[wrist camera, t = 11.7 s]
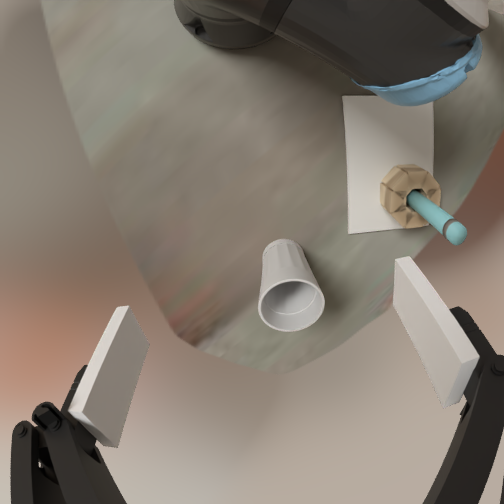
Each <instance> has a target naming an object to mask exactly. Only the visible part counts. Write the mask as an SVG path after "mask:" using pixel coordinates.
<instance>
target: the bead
mask: <svg viewBox="0 0 504 504" xmlns="http://www.w3.org/2000/svg"><path fill="white" fill-rule="evenodd" d="M381 181H382V182H383V183H380V203H381V206H382V207H383V208H384V209H385V210H386V211H387V212H388V213H389V214H390V215H391V216H392V217H393V218H394V219H395V220H396V221H397V222H398V223H399V224H400V225H401V226H402V227H403V228H405V229H406V228H415V227H423V224H424V225H426V224H427V223H428V221H427V220H426V219H424V218H423V217H422V216H421V215H420V214H419V213H417V212H416V211H415V210H414V209H413V208H412V207H410V206H409V205H408V204H407V203H406V196H407V195H408V194H409V193H410V192H411V190H412V189H415V190H417V191H418V192H419V193H421V194H422V195H424V196H425V197H426V198H428V199H429V200H431V201H432V202H433V203H435V204H436V205H437V206H439V207H440V196H441V188H440V185H439V184H438V183H437V181H436V180H435V179H434V178H433V176H432V175H431V174H430V173H429V172H428V171H426V170H424V169H422V168H421V167H419V166H417V165H415V164H404V165H396V166H394V167H393V168H392V169H391V170H390V171H389V172H388V174H387V175H386V176H385V177H384V178H383V179H382V180H381Z"/></svg>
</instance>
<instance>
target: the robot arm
mask: <svg viewBox="0 0 504 504" xmlns="http://www.w3.org/2000/svg"><path fill="white" fill-rule="evenodd" d="M488 2H489V0H174V6H175V11H176V14H177V16H178V18H179V20H180V22H181V23H182V25H183V26H184V27H185V28H186V29H187V30H188V31H189V32H190V33H191V34H192V35H193V36H194V37H196V38H197V39H199V40H200V41H202V42H204V43H206V44H209V45H212V46H215V47H219V48H225V49H243V48H249V47H253V46H256V45H259V44H262V43H264V42H266V41H268V40H270V39H272V38H273V37H275V36H276V35H278V36H280V37H282V38H284V39H286V40H288V41H290V42H292V43H294V44H295V45H297V46H299V47H301V48H303V49H305V50H306V51H308V52H310V53H312V54H313V55H315V56H317V57H319V58H320V59H322V60H324V61H325V62H327V63H329V64H330V65H332V66H333V67H335V68H337V69H338V70H340V71H341V72H343V73H344V74H346V75H348V76H349V77H350V79H351V80H352V81H353V82H354V83H356V84H357V85H358V86H361V87H363V88H365V89H368V90H370V91H372V92H373V93H375V94H376V95H378V96H379V97H381V98H382V99H384V100H386V101H387V102H389V103H392V104H395V105H399V106H419V105H423V104H427V103H430V102H433V101H435V100H437V99H439V98H441V97H443V96H445V95H447V94H448V93H450V92H452V91H453V90H454V89H456V88H457V87H458V86H459V85H461V84H462V83H463V82H464V81H465V80H466V79H467V75H466V73H467V72H468V71H471V70H474V69H475V68H476V66H477V64H478V62H479V60H480V57H481V53H482V42H481V39H480V36H479V33H480V32H481V31H483V30H484V29H485V28H487V27H488V25H489V15H488ZM393 306H394V308H395V310H396V312H397V313H398V315H399V317H400V319H401V321H402V323H403V325H404V327H405V329H406V331H407V333H408V335H409V337H410V338H411V340H412V343H413V345H414V347H415V348H416V351H417V353H418V355H419V357H420V359H421V361H422V363H423V365H424V367H425V369H426V372H427V374H428V376H429V378H430V380H431V382H432V385H433V387H434V389H435V391H436V393H437V396H438V398H439V400H440V403H441V405H442V407H443V408H445V407H448V406H451V405H453V404H456V403H458V402H459V401H460V400H461V398H462V395H463V394H464V395H465V398H466V400H467V402H466V404H465V406H464V408H463V410H462V411H461V413H460V415H461V418H460V422H459V424H458V427H457V430H456V432H455V435H454V438H453V440H452V442H451V445H450V448H449V450H448V452H447V455H446V457H445V459H444V462H443V464H442V466H441V468H440V470H439V473H438V475H437V477H436V479H435V481H434V483H433V485H432V487H431V489H430V491H429V493H428V495H427V497H426V499H425V500H424V502H423V504H478V503H479V500H480V498H481V495H482V493H483V490H484V488H485V485H486V483H487V480H488V477H489V474H490V472H491V469H492V466H493V463H494V460H495V457H496V453H497V450H498V447H499V443H500V440H501V436H502V432H503V428H504V356H503V355H497V354H496V353H495V351H494V349H493V348H492V346H491V345H490V344H489V342H488V340H487V339H486V337H485V336H484V334H483V333H482V332H481V330H479V327H478V326H477V324H476V323H474V320H473V319H472V317H471V316H470V315H469V313H468V312H466V311H465V310H463V309H462V308H460V307H455V308H452V309H448V307H447V306H446V305H445V303H444V302H443V300H442V299H441V297H440V296H439V295H438V293H437V292H436V291H435V289H434V288H433V286H432V285H431V284H430V282H429V281H428V280H427V278H426V277H425V276H424V275H423V273H422V272H421V271H420V269H419V268H418V267H417V265H416V264H415V263H414V261H413V260H412V259H411V258H410V256H408V257H403V258H399V259H395V277H394V296H393ZM149 345H150V344H149V342H148V341H147V338H146V336H145V335H144V333H143V331H142V329H141V327H140V325H139V324H138V322H137V320H136V318H135V316H134V314H133V312H132V310H131V308H130V306H122V307H117V308H116V310H115V312H114V314H113V316H112V318H111V320H110V322H109V324H108V326H107V328H106V330H105V331H104V333H103V336H102V337H101V340H100V342H99V343H98V345H97V348H96V350H95V352H94V354H93V356H92V358H91V360H90V362H89V364H88V365H84V366H83V368H82V369H81V370H80V371H79V372H78V373H77V376H76V378H75V380H74V383H73V384H72V387H71V390H70V391H69V393H68V395H67V397H66V400H65V402H64V404H63V406H62V409H61V411H59V410H58V409H57V408H56V407H55V406H54V405H53V403H51V402H44V403H41V404H40V405H38V406H37V407H36V408H35V410H34V411H33V414H32V421H34V423H36V424H37V425H38V426H36V427H34V426H33V425H32V424H31V423H30V422H28V421H21V422H19V423H18V424H17V425H16V426H15V428H14V430H13V434H12V447H11V504H127V503H126V501H125V500H124V498H123V496H122V494H121V493H120V491H119V489H118V487H117V485H116V484H115V482H114V480H113V478H112V476H111V474H110V472H109V470H108V468H107V466H106V464H105V462H104V460H103V458H102V456H101V454H100V451H99V449H98V448H97V447H96V446H95V443H96V440H98V441H99V442H100V443H101V444H102V445H103V446H108V447H116V448H118V445H119V442H120V438H121V434H122V431H123V427H124V424H125V421H126V417H127V414H128V410H129V407H130V404H131V400H132V397H133V394H134V391H135V388H136V384H137V381H138V378H139V375H140V372H141V369H142V366H143V363H144V360H145V357H146V354H147V351H148V348H149ZM38 462H40V463H41V467H39V463H38ZM500 504H504V478H503V486H502V494H501V501H500Z"/></svg>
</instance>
